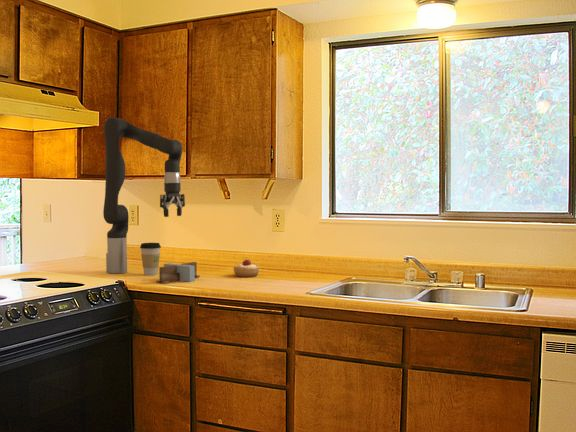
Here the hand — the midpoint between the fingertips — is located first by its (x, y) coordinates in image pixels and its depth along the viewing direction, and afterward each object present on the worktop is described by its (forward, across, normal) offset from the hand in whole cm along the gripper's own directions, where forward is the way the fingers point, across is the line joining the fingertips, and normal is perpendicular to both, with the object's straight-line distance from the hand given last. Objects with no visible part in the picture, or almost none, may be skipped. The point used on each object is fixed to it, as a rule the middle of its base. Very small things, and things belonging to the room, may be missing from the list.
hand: (172, 216), depth 294 cm
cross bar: (+28, +9, +12) cm, 32 cm away
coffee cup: (+28, +4, -11) cm, 31 cm away
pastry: (+28, -18, +30) cm, 45 cm away
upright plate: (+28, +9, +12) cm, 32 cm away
